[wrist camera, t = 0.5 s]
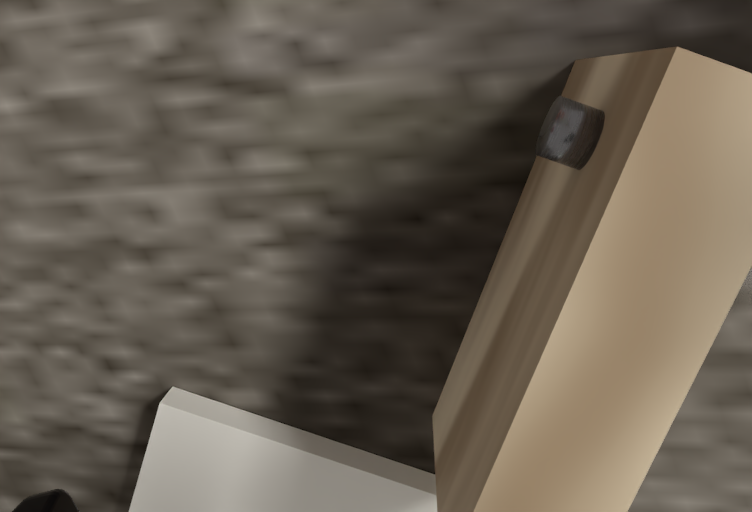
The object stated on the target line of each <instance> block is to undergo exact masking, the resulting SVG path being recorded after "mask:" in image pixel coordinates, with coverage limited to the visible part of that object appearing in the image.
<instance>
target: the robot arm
mask: <svg viewBox="0 0 752 512" xmlns="http://www.w3.org/2000/svg"><path fill="white" fill-rule="evenodd" d="M12 512H80V511H79V510H78V508H77V506H76V505H75V503H74V501H73V500H72V498H71V496H70V495H69V494H68V493H67V492H66V491H64V490H62V489H55V490H51V491H47V492H43V493H39V494H35V495H32V496H29V497H27V498H26V499H24V500H23V501H22V502H21V503H20V504H19V505H18V506H17V507H16V508H15V509H14V510H13V511H12Z"/></svg>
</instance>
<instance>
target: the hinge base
mask: <svg viewBox="0 0 752 512" xmlns="http://www.w3.org/2000/svg"><path fill="white" fill-rule="evenodd" d="M129 512H437V496H436V477H435V474H432V473H429V472H426V471H423V470H420V469H417V468H414V467H411V466H408V465H405V464H402V463H399V462H396V461H393V460H390V459H387V458H384V457H381V456H378V455H375V454H372V453H369V452H366V451H363V450H360V449H357V448H354V447H351V446H348V445H345V444H342V443H339V442H336V441H333V440H330V439H328V438H325V437H322V436H319V435H316V434H313V433H310V432H307V431H304V430H301V429H298V428H295V427H292V426H289V425H286V424H283V423H280V422H277V421H274V420H271V419H268V418H265V417H262V416H259V415H256V414H253V413H250V412H247V411H244V410H241V409H238V408H235V407H232V406H229V405H226V404H223V403H220V402H217V401H214V400H211V399H208V398H205V397H202V396H199V395H196V394H194V393H191V392H188V391H185V390H182V389H179V388H176V387H173V386H172V388H171V389H170V390H169V392H168V393H167V394H166V395H165V397H164V398H163V399H162V400H161V402H160V403H159V407H158V410H157V414H156V417H155V421H154V424H153V428H152V431H151V435H150V438H149V442H148V445H147V449H146V453H145V456H144V460H143V463H142V467H141V470H140V474H139V477H138V481H137V484H136V488H135V491H134V495H133V498H132V502H131V505H130V509H129Z"/></svg>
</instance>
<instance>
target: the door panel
mask: <svg viewBox="0 0 752 512" xmlns="http://www.w3.org/2000/svg"><path fill="white" fill-rule="evenodd" d="M535 153H536V155H537V157H536V159H535V162H534V164H533V167H532V169H531V172H530V174H529V177H528V179H527V182H526V184H525V187H524V189H523V192H522V194H521V197H520V199H519V202H518V204H517V207H516V209H515V212H514V214H513V217H512V219H511V221H510V224H509V226H508V229H507V231H506V234H505V236H504V239H503V241H502V244H501V246H500V249H499V251H498V254H497V256H496V259H495V261H494V264H493V266H492V269H491V271H490V274H489V276H488V279H487V281H486V284H485V286H484V289H483V291H482V294H481V296H480V298H479V301H478V303H477V306H476V308H475V311H474V313H473V316H472V318H471V321H470V323H469V326H468V328H467V331H466V333H465V336H464V338H463V341H462V343H461V346H460V348H459V351H458V353H457V356H456V358H455V361H454V363H453V366H452V368H451V370H450V373H449V375H448V378H447V380H446V383H445V385H444V388H443V390H442V393H441V395H440V398H439V400H438V403H437V405H436V408H435V410H434V413H433V415H432V420H433V439H434V458H435V477H436V496H437V512H627V511H628V509H629V507H630V505H631V503H632V501H633V499H634V497H635V496H636V494H637V492H638V490H639V488H640V486H641V484H642V482H643V480H644V478H645V476H646V474H647V472H648V470H649V468H650V466H651V464H652V462H653V460H654V458H655V456H656V454H657V452H658V450H659V448H660V446H661V444H662V442H663V440H664V438H665V436H666V434H667V432H668V430H669V428H670V426H671V424H672V422H673V420H674V419H675V417H676V415H677V413H678V411H679V409H680V407H681V405H682V403H683V401H684V399H685V397H686V395H687V393H688V391H689V389H690V387H691V385H692V383H693V381H694V379H695V377H696V375H697V373H698V371H699V369H700V367H701V365H702V363H703V361H704V359H705V357H706V355H707V353H708V351H709V349H710V347H711V345H712V343H713V342H714V340H715V338H716V336H717V334H718V332H719V330H720V328H721V326H722V324H723V322H724V320H725V318H726V316H727V314H728V312H729V310H730V308H731V306H732V304H733V302H734V300H735V298H736V296H737V294H738V292H739V290H740V288H741V286H742V284H743V282H744V280H745V278H746V276H747V274H748V272H749V270H750V268H751V267H752V73H749V72H747V71H744V70H741V69H738V68H736V67H733V66H730V65H727V64H724V63H722V62H719V61H716V60H713V59H711V58H708V57H705V56H702V55H699V54H697V53H694V52H691V51H688V50H686V49H683V48H680V47H669V48H662V49H654V50H647V51H639V52H632V53H624V54H617V55H609V56H602V57H595V58H587V59H580V60H575V63H574V65H573V67H572V70H571V72H570V75H569V77H568V80H567V82H566V85H565V87H564V90H563V92H562V95H561V96H558V97H557V98H556V100H555V101H554V102H553V104H552V106H551V107H550V109H549V111H548V113H547V115H546V117H545V120H544V122H543V124H542V127H541V130H540V133H539V136H538V139H537V143H536V149H535Z"/></svg>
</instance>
